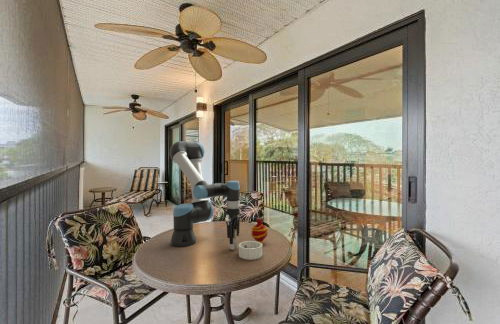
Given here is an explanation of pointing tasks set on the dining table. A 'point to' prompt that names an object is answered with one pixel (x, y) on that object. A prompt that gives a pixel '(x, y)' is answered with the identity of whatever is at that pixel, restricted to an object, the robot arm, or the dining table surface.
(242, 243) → the white round bowl
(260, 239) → the potion bottle
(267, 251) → the dining table surface
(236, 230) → the cream rectangular box
